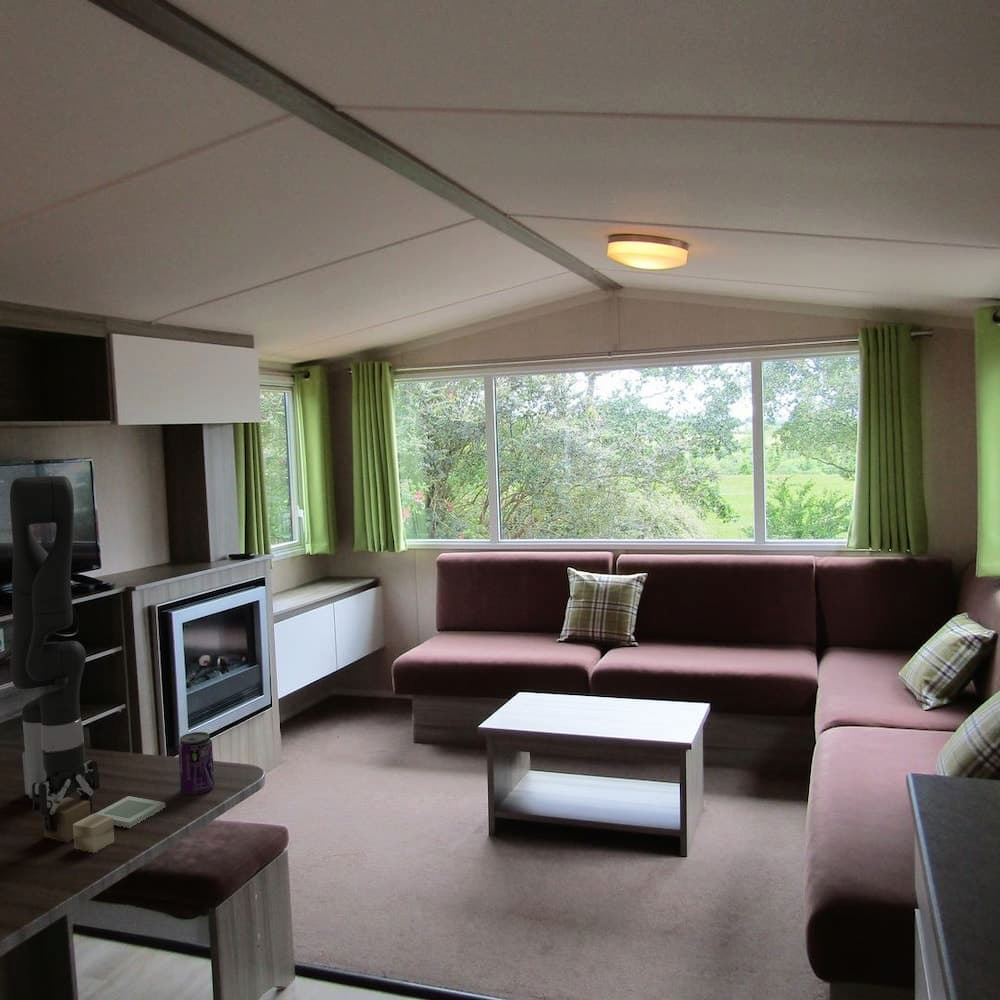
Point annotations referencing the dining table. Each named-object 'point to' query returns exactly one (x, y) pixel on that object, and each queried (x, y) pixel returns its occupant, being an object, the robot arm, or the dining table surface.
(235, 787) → the dining table surface
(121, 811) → the plate
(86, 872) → the dining table surface
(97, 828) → the beech cube
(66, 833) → the walnut cube
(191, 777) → the beverage can
